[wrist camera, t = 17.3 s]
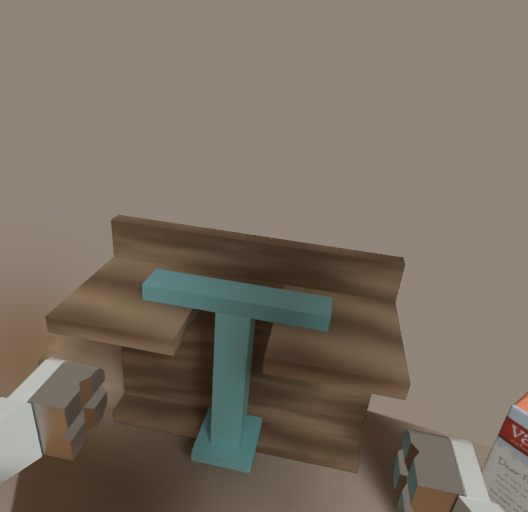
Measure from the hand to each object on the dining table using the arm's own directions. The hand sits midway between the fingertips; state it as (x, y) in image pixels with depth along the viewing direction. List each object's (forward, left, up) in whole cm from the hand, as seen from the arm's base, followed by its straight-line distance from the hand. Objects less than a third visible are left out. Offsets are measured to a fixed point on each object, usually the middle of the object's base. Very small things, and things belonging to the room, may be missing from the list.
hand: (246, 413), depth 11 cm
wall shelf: (-14, -18, -32) cm, 39 cm away
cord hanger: (-14, -18, -29) cm, 37 cm away
